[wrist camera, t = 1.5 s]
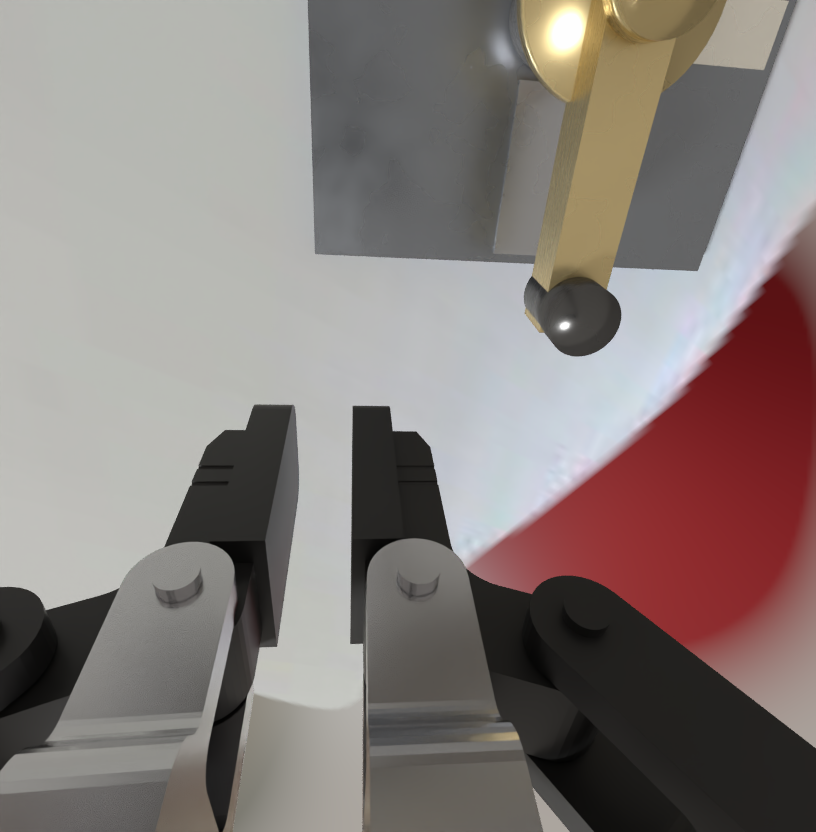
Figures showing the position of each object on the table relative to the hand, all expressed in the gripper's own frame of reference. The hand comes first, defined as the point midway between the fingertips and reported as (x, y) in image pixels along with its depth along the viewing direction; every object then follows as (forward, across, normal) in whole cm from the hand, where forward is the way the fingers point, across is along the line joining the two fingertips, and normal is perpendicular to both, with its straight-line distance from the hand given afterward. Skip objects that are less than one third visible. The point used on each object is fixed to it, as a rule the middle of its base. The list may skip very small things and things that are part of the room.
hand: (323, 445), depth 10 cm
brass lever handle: (+14, -10, -5) cm, 18 cm away
